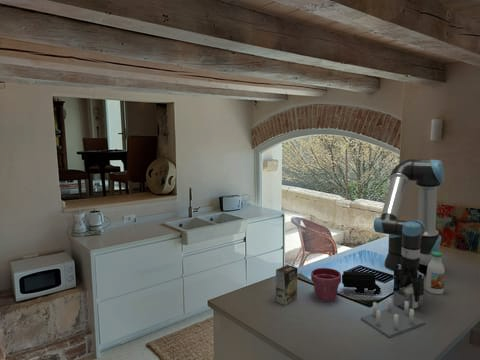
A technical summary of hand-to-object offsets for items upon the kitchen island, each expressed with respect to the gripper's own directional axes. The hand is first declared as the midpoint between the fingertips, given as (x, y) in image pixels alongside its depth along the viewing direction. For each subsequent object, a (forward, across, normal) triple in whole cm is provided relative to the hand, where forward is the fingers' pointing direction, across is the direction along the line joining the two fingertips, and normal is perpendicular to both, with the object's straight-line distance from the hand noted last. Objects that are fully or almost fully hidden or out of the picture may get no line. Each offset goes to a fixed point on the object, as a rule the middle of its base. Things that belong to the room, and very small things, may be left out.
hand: (408, 304), depth 160 cm
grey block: (+1, 0, 0) cm, 1 cm away
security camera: (+1, -20, -9) cm, 22 cm away
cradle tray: (+1, +6, -17) cm, 18 cm away
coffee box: (+1, -31, -46) cm, 56 cm away
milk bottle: (+1, -4, +24) cm, 24 cm away
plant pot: (+1, -24, -28) cm, 37 cm away
